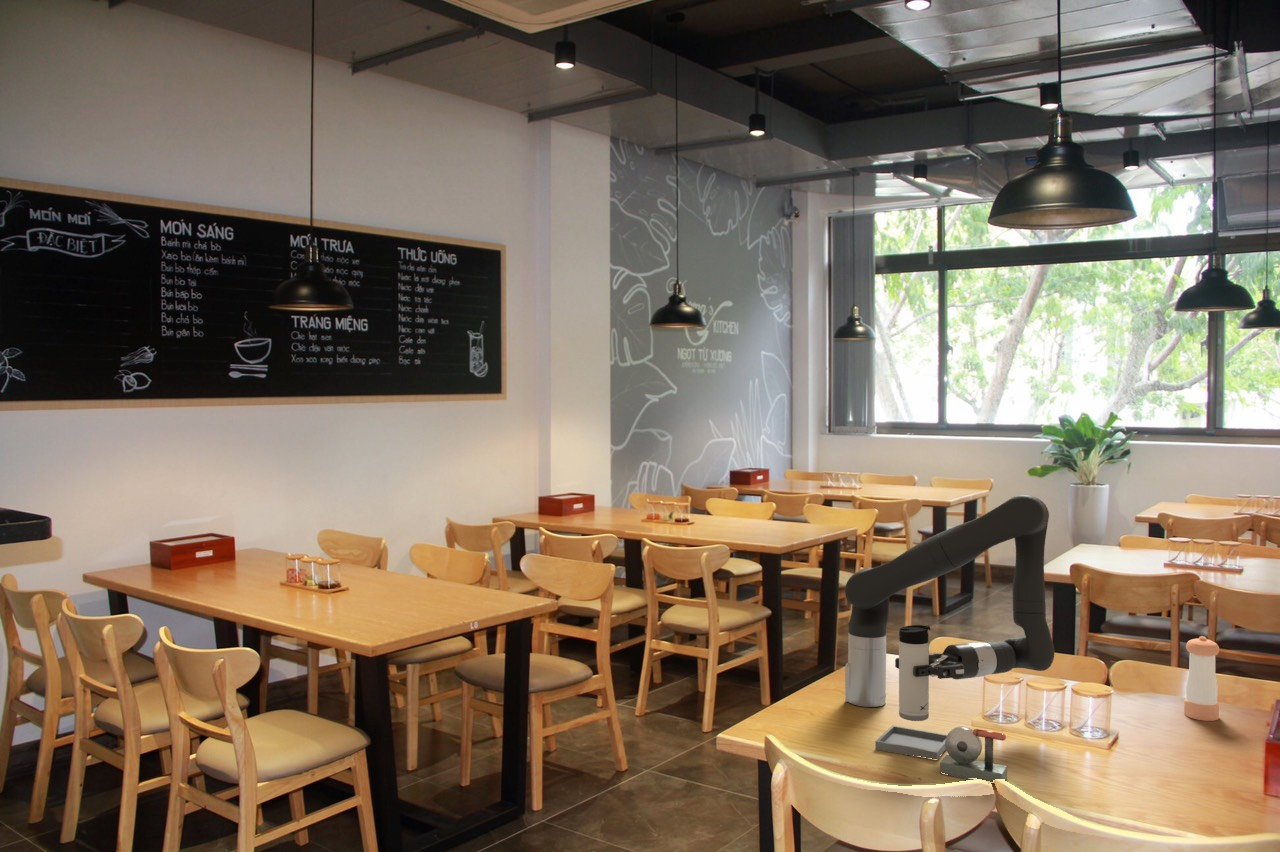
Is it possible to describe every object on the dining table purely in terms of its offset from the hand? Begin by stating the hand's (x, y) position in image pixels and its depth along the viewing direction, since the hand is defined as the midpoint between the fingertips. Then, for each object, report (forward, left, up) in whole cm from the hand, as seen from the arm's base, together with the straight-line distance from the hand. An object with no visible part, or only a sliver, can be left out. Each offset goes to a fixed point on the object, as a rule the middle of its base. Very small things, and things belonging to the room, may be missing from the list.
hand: (905, 667), depth 216 cm
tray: (+2, +2, -18) cm, 18 cm away
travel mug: (+2, +2, -11) cm, 11 cm away
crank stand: (+17, -9, -18) cm, 26 cm away
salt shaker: (+55, +58, -18) cm, 82 cm away
